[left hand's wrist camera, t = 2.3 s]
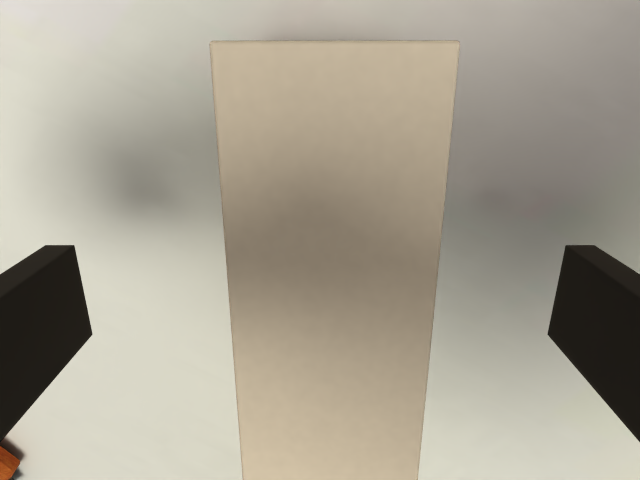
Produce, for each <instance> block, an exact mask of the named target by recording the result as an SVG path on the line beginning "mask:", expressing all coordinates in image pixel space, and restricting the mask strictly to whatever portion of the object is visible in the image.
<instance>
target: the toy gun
mask: <svg viewBox="0 0 640 480" xmlns="http://www.w3.org/2000/svg"><path fill="white" fill-rule="evenodd" d="M19 464H20V460H19V459H17V458H16V457H15V456H13V455H12V454H11V453H9V452H8V451H6V450H5V449H4V448H2V447H1V446H0V480H14V479H13V478H12V475H13V474H14V472H15V471H16V469H17V467H18V466H19Z"/></svg>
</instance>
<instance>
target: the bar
mask: <svg viewBox="0 0 640 480" xmlns="http://www.w3.org/2000/svg"><path fill="white" fill-rule="evenodd" d="M459 50H460V43H459V41H211V42H210V56H211V69H212V82H213V95H214V109H215V122H216V135H217V148H218V161H219V174H220V187H221V200H222V213H223V226H224V239H225V252H226V265H227V278H228V291H229V304H230V317H231V331H232V344H233V357H234V370H235V383H236V396H237V409H238V422H239V435H240V448H241V461H242V474H243V480H418V471H419V461H420V450H421V440H422V430H423V420H424V409H425V399H426V389H427V378H428V368H429V358H430V348H431V337H432V327H433V317H434V307H435V296H436V286H437V276H438V265H439V255H440V245H441V235H442V224H443V214H444V204H445V194H446V183H447V173H448V163H449V152H450V142H451V132H452V122H453V111H454V101H455V91H456V81H457V70H458V60H459Z"/></svg>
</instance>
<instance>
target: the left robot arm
mask: <svg viewBox="0 0 640 480" xmlns="http://www.w3.org/2000/svg"><path fill="white" fill-rule="evenodd" d="M91 335H92V330H91V325H90V320H89V315H88V310H87V305H86V301H85V296H84V291H83V286H82V281H81V276H80V271H79V266H78V261H77V256H76V252H75V247H74V245H45V246H44V247H42V248H41V249H39V250H38V251H36V252H34V253H33V254H31V255H30V256H28V257H27V258H25V259H24V260H22V261H20V262H19V263H17V264H16V265H14V266H13V267H11V268H10V269H8V270H6V271H5V272H3V273H2V274H0V442H1V441H2V439H3V438H4V437H5V436H6V435H7V434H8V432H9V431H10V430H11V429H12V428H13V427H14V425H15V424H16V423H17V422H18V421H19V420H20V418H21V417H22V416H23V415H24V414H25V413H26V411H27V410H28V409H29V408H30V407H31V406H32V404H33V403H34V402H35V401H36V400H37V399H38V397H39V396H40V395H41V394H42V393H43V392H44V390H45V389H46V388H47V387H48V386H49V385H50V383H51V382H52V381H53V380H54V379H55V378H56V376H57V375H58V374H59V373H60V372H61V371H62V369H63V368H64V367H65V366H66V365H67V364H68V362H69V361H70V360H71V359H72V358H73V357H74V355H75V354H76V353H77V352H78V351H79V350H80V348H81V347H82V346H83V345H84V344H85V342H86V341H87V340H88V339H89V338H90V337H91ZM548 335H549V337H550V338H551V339H552V340H553V341H554V342H555V344H556V345H557V346H558V347H559V348H560V350H561V351H562V352H563V353H564V354H565V355H566V357H567V358H568V359H569V360H570V361H571V362H572V364H573V365H574V366H575V367H576V368H577V369H578V371H579V372H580V373H581V374H582V375H583V376H584V378H585V379H586V380H587V381H588V382H589V383H590V385H591V386H592V387H593V388H594V389H595V390H596V392H597V393H598V394H599V395H600V396H601V397H602V399H603V400H604V401H605V402H606V403H607V404H608V406H609V407H610V408H611V409H612V410H613V411H614V413H615V414H616V415H617V416H618V417H619V418H620V420H621V421H622V422H623V423H624V424H625V425H626V427H627V428H628V429H629V430H630V431H631V432H632V434H633V435H634V436H635V437H636V438H637V439H638V441H639V442H640V274H638V273H637V272H635V271H634V270H632V269H630V268H629V267H627V266H626V265H624V264H623V263H621V262H620V261H618V260H616V259H615V258H613V257H612V256H610V255H609V254H607V253H606V252H604V251H602V250H601V249H599V248H598V247H596V246H595V245H566V247H565V252H564V256H563V261H562V266H561V271H560V276H559V281H558V286H557V291H556V296H555V301H554V305H553V310H552V315H551V320H550V325H549V330H548Z"/></svg>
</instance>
